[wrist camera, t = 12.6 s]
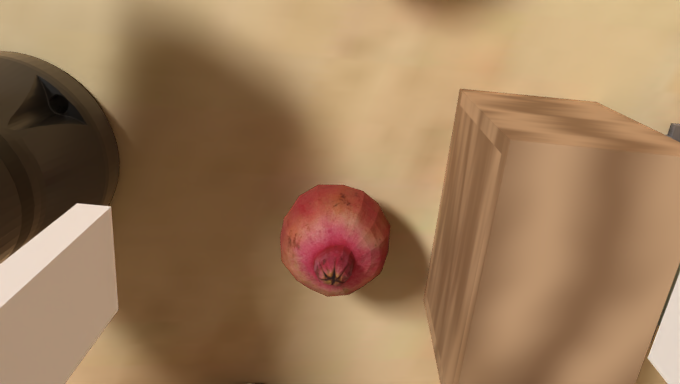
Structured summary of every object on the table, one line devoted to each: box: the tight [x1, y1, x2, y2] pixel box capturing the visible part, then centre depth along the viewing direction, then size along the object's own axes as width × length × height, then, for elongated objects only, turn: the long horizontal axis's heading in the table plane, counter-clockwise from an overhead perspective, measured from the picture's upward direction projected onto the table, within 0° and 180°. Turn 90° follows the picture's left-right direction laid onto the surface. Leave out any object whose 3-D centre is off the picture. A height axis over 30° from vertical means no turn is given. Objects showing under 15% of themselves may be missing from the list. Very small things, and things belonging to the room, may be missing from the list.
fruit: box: [280, 185, 390, 296], centre depth 38 cm, size 8×8×10 cm
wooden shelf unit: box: [424, 89, 680, 384], centre depth 35 cm, size 22×18×14 cm
